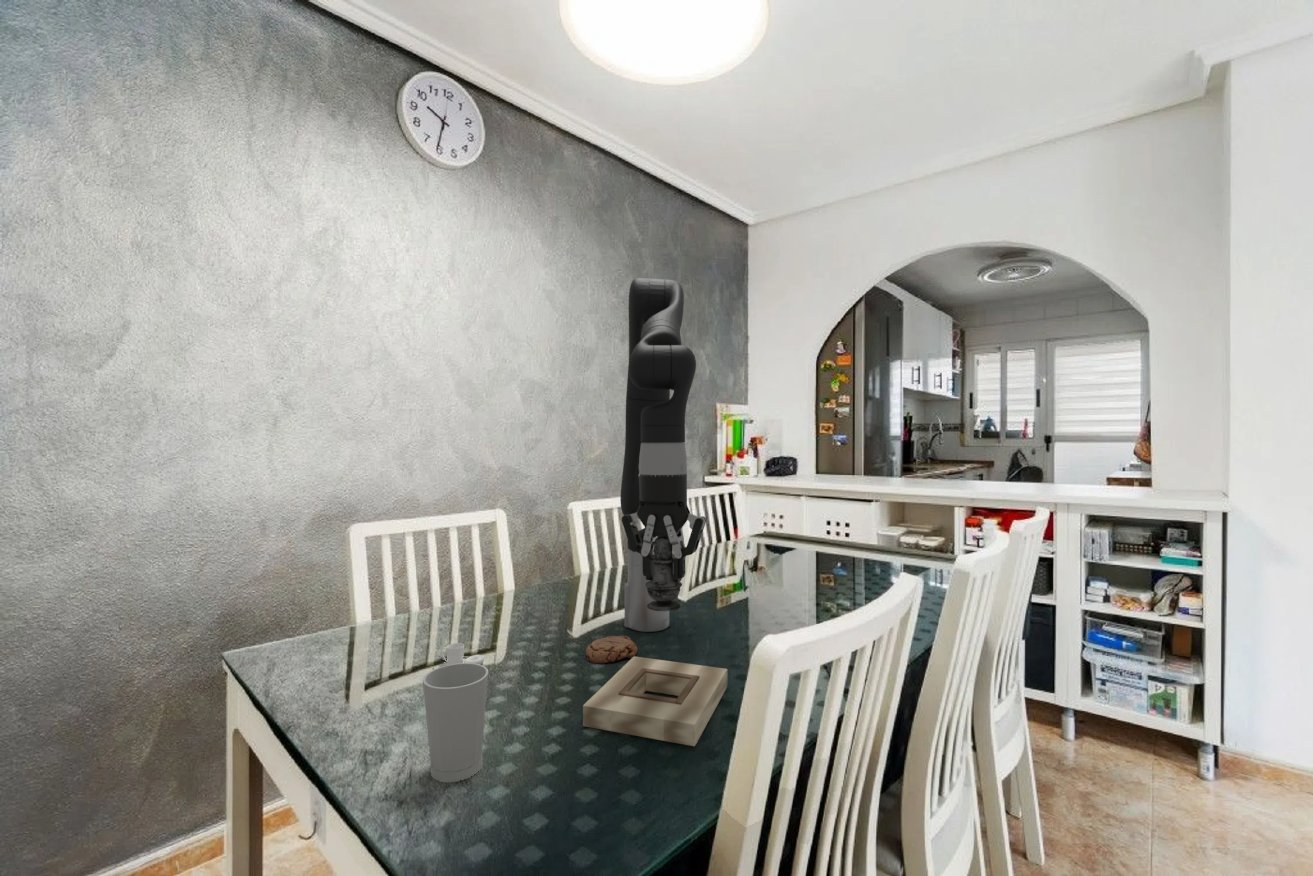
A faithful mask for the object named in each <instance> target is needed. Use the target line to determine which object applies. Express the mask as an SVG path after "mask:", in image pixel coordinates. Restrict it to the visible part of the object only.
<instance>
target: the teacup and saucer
mask: <svg viewBox="0 0 1313 876" xmlns="http://www.w3.org/2000/svg"><path fill="white" fill-rule="evenodd" d="M443 650H445V651H446V657H445V654H444V651H443ZM440 654H441V657H442V658H443V659H442V660H445V661H446V662H445V663H446V664H447V665H450V664H457V663H475V664H480V665H483V663H484V661H485V656H484V655H483V654H474V655H471V656H468V657H469V658H467V659H463V657H465V656H464V654H465V644H464V643H462V642H453V643H449V644H447V646H444V647H442V648H441V650H440ZM446 659H447V660H446Z"/></svg>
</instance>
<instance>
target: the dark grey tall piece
mask: <svg viewBox="0 0 1313 876" xmlns="http://www.w3.org/2000/svg"><path fill="white" fill-rule="evenodd" d="M674 558H675V557H673V548H672V545H671V544H670V540H669V537H666V536H663V535H662V536H660V537H658V538H656V539H655V542H654V558H653V559H652V561H653V562H654V576H653V579H652V580H651V581H648V582H646V583H645V586H646V587H647V591H648V594H649V596H650V597H651V598H652V599H653V600H655V601H652V602H651V603H649V604H648V605H647V608H648V609H650V610H654V611H669V612H671V611H673V612H674V611H677V610H680V608H681V604H680V603H678V602H677V600H676V598H678V596H679V594H680V593H681V587H682V586H683V583H682V582H681V581H680V582H674ZM675 600H676V601H675Z"/></svg>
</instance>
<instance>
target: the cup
mask: <svg viewBox="0 0 1313 876" xmlns="http://www.w3.org/2000/svg"><path fill="white" fill-rule="evenodd" d="M488 680H489V670H488V668H487V667H486V666H485V665H483V664H475V663H464V662H463V663H457V664H450V665H448V664H446V665H443V666H439V668H436V669H434V670H433V669H432V670H430V671H428V672H427V673H426V674H425V675H424V676H423V678H422V686H423V696H424V705H425V706H424V707H425V716H426V717H425V718H426V727H427V730H426V731H427V739H428V749H429V762H430V776H431V777H433V778H434V780H435V779H436V780H435V781H437V780H439V781H438V782H440V783H456V782H457V783H458V782H461V781H460V780H462V781H464V779H465V780H467V779H470V778H472V777H473V776H475V775H476V774H477V773H479V772H478V771H480V770H481V769H482V767H483V748H484V747H483V744H484V733H485V732H484V731H485V720H486V719H485V716H486V715H485V714H486V703H487V692H488ZM474 774H475V775H474ZM471 776H472V777H471ZM433 778H432V779H433Z"/></svg>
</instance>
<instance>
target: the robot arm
mask: <svg viewBox="0 0 1313 876" xmlns="http://www.w3.org/2000/svg"><path fill="white" fill-rule="evenodd" d="M684 295H685V294H684V290H683V287H682V284H681V283H680V282H679V281H677V280H673V279H665V278H650V277H649V278H647V277H646V278H645V277H637V278H634V279H632V280H631V283H630V286H629V293H628V347H629V348H628V366H627V367H628V368H627V382H626V396H625V434H624V435H625V439H624V440H625V443H624V444H625V445H624V457H623V466H622V475H621V485H620V509H621V513H622V514H623V516H622V517H621V522H622V526H623V529H624V532H625V535H626V539H627V581H626V582H625V583H624V585H623V588H624V598H623V599H624V601H623V602H624V603H623V605H624V628H629V629H631V630H634V631H636V632H637V631H638V632H649V633H650V632H651V633H652V632H659V631H664V630H665V629H667V628H668V627H670V611H654V610H650V609H648V608H647V605H648V604H649V603H651V602H652V601H655V600H653V599H652V598H651V597H650V596H649V594H648V591H647V587H646V586H645V583H646V582H648V581H651V580H652V579H653V576H654V562H653V561H652V559H653V558H654V542H655V539H656V538H658V537H660V536H662V535H663V536H666V537H669V540H670V544H671V545H672V553H673V555H674V557H673V558H674V562H673V575H674V582H681V581H682V579H683V578H684V577H685V576H686V557H687V556H690V555H692V554H694V553H696V552H697V550H698V548H699V545H700V541H701V538H702V535H703V533H704V530H705V526H706V523H707V519H706V518H707V517H705V516H698V515H696V514H692V513H691V511H690V509H689V507H688V475H687V474H688V472H687V471H688V469H687V468H688V461H687V460H688V459H687V451H686V450H687V449H686V443H685V442H686V433H685V432H686V412H687V411H686V410H687V404H688V400H689V395H690V391H691V388H692V385H693V381H694V378H695V373H696V371H697V370H696V369H697V368H696V367H697V360H696V356H695V354H694V352H693V351H692V349H691V348H690V347H688V346H686V345H683V344H682V337H681V328H682V323H683V316H684V303H685V302H684V301H685V300H684V299H685V298H684ZM671 391H673V393H672V396H671ZM670 396H671V397H670ZM639 520H640V522H641V523H642V525H643V526H644V528H642V529H640V530H639V529H638V525H639ZM687 521H688V522H689V529H690V530H691V532H690V536H689V538H688V541H687V544H686V545H685V542H684V535H683V531H682V530H683V529H682V528H683V527H684V526H685V525H686V524H687Z"/></svg>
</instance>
